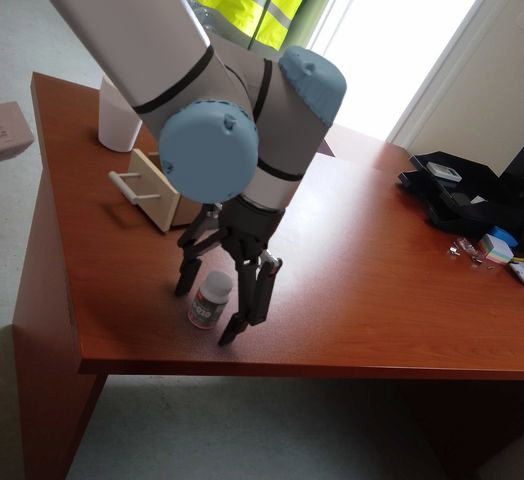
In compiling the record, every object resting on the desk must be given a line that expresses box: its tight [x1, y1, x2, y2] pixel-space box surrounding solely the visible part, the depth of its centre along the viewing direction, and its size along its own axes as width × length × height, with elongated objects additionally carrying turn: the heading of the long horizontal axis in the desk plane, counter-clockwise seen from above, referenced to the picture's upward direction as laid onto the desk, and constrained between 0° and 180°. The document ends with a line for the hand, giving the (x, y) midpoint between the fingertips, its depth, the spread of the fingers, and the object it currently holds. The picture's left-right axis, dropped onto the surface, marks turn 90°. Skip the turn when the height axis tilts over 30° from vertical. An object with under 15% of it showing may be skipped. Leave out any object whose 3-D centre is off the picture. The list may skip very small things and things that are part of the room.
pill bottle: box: [187, 269, 235, 330], centre depth 68 cm, size 5×5×8 cm
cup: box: [98, 72, 143, 153], centre depth 90 cm, size 9×9×12 cm
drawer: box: [107, 148, 203, 232], centre depth 81 cm, size 19×12×8 cm, turn 136°
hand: (203, 317), depth 70 cm, fingers open, 10 cm apart
